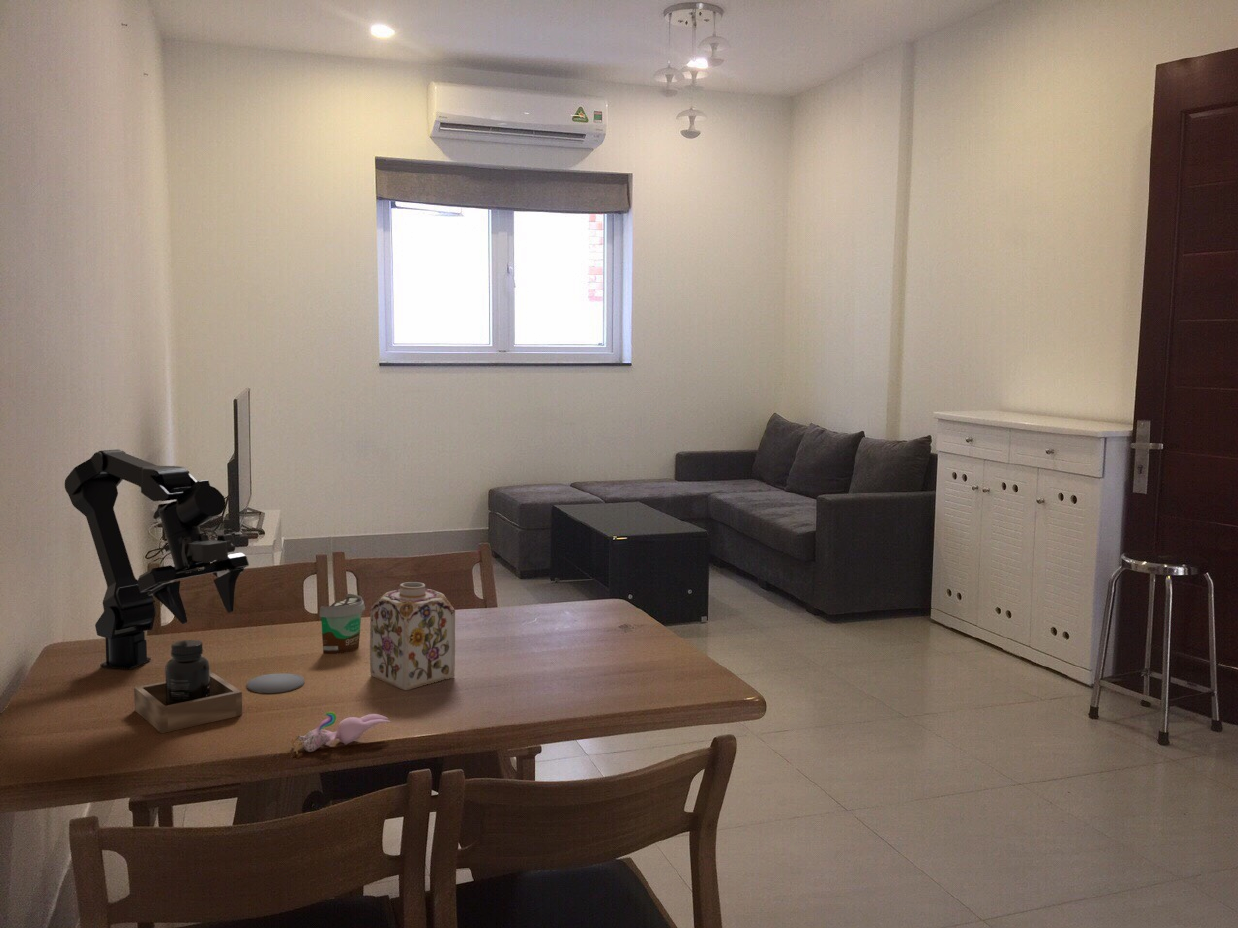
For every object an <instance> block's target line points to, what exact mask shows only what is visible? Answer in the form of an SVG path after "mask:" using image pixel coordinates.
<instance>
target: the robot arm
mask: <svg viewBox="0 0 1238 928" xmlns="http://www.w3.org/2000/svg"><path fill="white" fill-rule="evenodd" d="M64 480H65V481H64V489H65V492H66V494H67V495H68V497H69V500H70V502H71V504H72V506H73V507H74V508H75V509H76V510H78V511H79V512H80V513H81V514H82V515H83V516H85V518H86V521H87V524H88V527H89V531H90V534H91V537H92V541H93V544H94V546H95V547H94V548H95V550H96V554H97V557H98V560H99V564H100V566H101V570H102V574H103V576H104V577H103V578H104V580H105V583H106V591H105V594H104V596H103V600H102V607H103V612H102V613H101V615H100V617H99V618H98V619H97V621H96V622H95V624H94V625H95V632H96V634H97V636H99V637H101V638H104V639H105V662H102V663H100V666H99V667H100V668H107V669H116V670H118V669H119V670H125V671H126V670H131V669H132V670H133V669H134V668H136V667H139V666H141V665H143V664H145V663H148V662H150V661H151V657H148V653H147V652H148V651H147V650H148V647H147V644H148V643H147V640H146V639H145V637H146V636H145V635H146V634H145V632H146V631H152V630H153V628H154V623H155V619H156V612H157V606H156V600H157V601H159V602H160V603H161V604H162V605H163V606H165V608H167V609H168V611H170V612H171V614H172V615H173V616H174V617H175V618H176V619H177V620H178V621H179V623H180V624H181V625H184V624H187V623H188V619H187V618H188V617H187V612H186V609H185V607H184V606H185V605H184V603H183V600H182V597H181V594H180V587H181V580H184V579H191V578H195V577H199V576H204V575H208V574H209V575H210V574H213V575H214V576H215V577H217V578H215V579H213V583H214V585H215V587H216V590H217V592H218V595H219V596H220V599H221V602H222V604H223V606H224V608H225V610H226V612H227V614H230V613H233V612H234V606H235V605H234V604H235V592H236V589H235V588H236V585H237V584H236V583H237V580H238V578H239V576H240V574H243V572H245V568H248V567H250V563H249V560H248V557H247V556H246V554H244V553H243V552H238V553H237V552H236V553H235V550H236V543H235V539H234V537H233V535H232V533H225V534H219V535H217V539H215V540H210V539H209V536H208V534H207V532H203V533H202V532H201V527H200V526H202V525H204V524H206V523H208V522H209V521H210V520H212V519H215V518H216V517H218V516H220V515H221V514H222V513H224V511H225V508H226V499H225V496H224V495H223V494H222V493H221V491H220V490H219V489H218V488H216V487H214V486H211V485H210V481H209V479H203V480H197V479H196V478H195V477H194V476H193V475H192V474H191V473H190V470H189V469H188V468H186V467H184V466H178V465H157V464H154V463H151V462H149V461H146V460H144V459H142V458H139V457H136V456H134V455H131V454H129V453H126V451H124V450H121V449H119V448H118V449H107V450H105V449H104V450H98V451H96V452H95V453H94V454H92V456H91V457H90V458H88V459H86V460H85V461H84V462H82V463H80V464H78V465H76V466H75V467H74V468H73V469H72V470H71V471H70V473H68V475H67V476H66V478H65V479H64ZM123 480H124V481H126V482H128V483H130V484H133V485H136V486H138V487H139V488H140V493H141V494H142V495H144V496H145V497H146V498H148V499H149V500H150V501H152V502H159V501H160V502H166V501H171V502H166V503H160V504H158V505H157V508H156V510H155V511H154V513H153V516H152V518H153V519H154V520H159V519H160V521H161V525H162V527H163V531H164V535H165V538H166V540H167V545H164V550H165V552H166V553H169V552H170V555H171V558H172V561H173V565H174V566H173V565H165V566H158V567H154V568H151V569H149V570H148V571H146V572H144V573H142V574H140V575H139V576H138V579H137V578H136V576H135V574H134V570H133V567H132V564H131V561H130V558H129V555H128V550H127V548H126V545H125V542H124V538H123V535H122V532H121V531H122V530H121V528H120V524H119V521H118V519H117V516H116V512H115V510H114V508H115V505H116V501H117V498H118V495H119V492H118V486H119V485H120V484H121V482H123ZM233 552H234V553H233ZM229 553H230V554H229ZM154 598H155V599H156V600H155V599H154Z"/></svg>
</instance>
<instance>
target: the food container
mask: <svg viewBox="0 0 1238 928" xmlns="http://www.w3.org/2000/svg"><path fill="white" fill-rule="evenodd" d="M365 610H366V607H365V602H364V600H363V597H362V596H360V595H358V594H354V593H346V598H344V599H342V600H338V601H335V602H333V603H332V604H331V605H329V606H320V610H319V618H320V621H321V622H320V623H321V636H322V637H321V639H322V640H321V641H322V650H323V651H322V652H323V653H322V654H323V655H339V653H340V654H346V653H350V652H354V651H356V650H357V649H359V647H360V637H361V636H360V635H361V625H362V622H361V621H362V613H363V612H364V611H365ZM337 653H338V654H337Z"/></svg>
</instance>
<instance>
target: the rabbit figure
mask: <svg viewBox="0 0 1238 928" xmlns="http://www.w3.org/2000/svg"><path fill="white" fill-rule="evenodd" d="M324 715H325V716H327V718H326V719H324V720H322V721H321V722H320V724H319V725H318V726H317V727H316V728H315V729H312V730H309V731H308V732H307V733H306V734H305V735H297V736H296V737H294V738H293V737H290V739H291V746H292V749H294V750H295V752H296V755H298V751H299V750H298V749H299V746H300V745H301V746H302V747H303V749H304V750H305V751H306V752H308V753H312V752H315V751H316V750H317V749H319V748H321V747H322V746H323V745H326V746H330V744H332V743H334V741H335V740H336V739H339V743H343V744H344V745H345V746H346V745H348V744H350V743H352V742H353V741H356V740H358V739H360V738H361V737H362V735H363V733H364V732H366V731H368V730H369V729H371V728H373V727H375V726H378V725H380V724H383V723H385V724H387V723H388V724H389V723H391V720H388V717H386V716H384V715H381V714H378V713H369V714H366V715H363V716H362V717H356V716H355V717H354V716H349V717H347V718H343V720H341V721H340V722H339V723H338V724H337V728H336V730H335V731H330V730H328V729H323V728H327V727H330V726H332V725H334V724H335V722H336V720H337V716H336V713H335V712H334V711H327V712H326V713H325V714H324ZM296 741H300V742H298V743H297V744H296Z"/></svg>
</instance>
